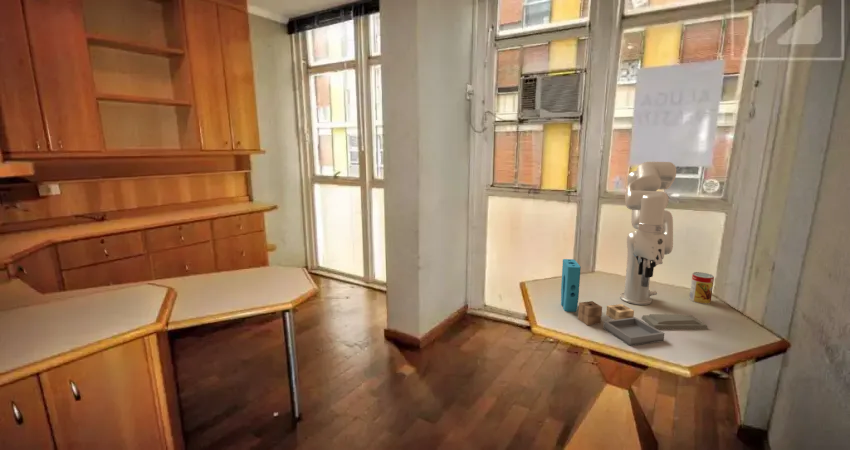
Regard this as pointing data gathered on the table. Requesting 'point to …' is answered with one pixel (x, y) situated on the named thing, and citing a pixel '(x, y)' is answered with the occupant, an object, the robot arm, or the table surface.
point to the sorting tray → (633, 331)
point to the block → (570, 285)
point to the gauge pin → (643, 279)
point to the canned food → (701, 287)
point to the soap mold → (673, 321)
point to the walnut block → (590, 313)
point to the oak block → (619, 312)
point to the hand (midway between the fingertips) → (645, 275)
